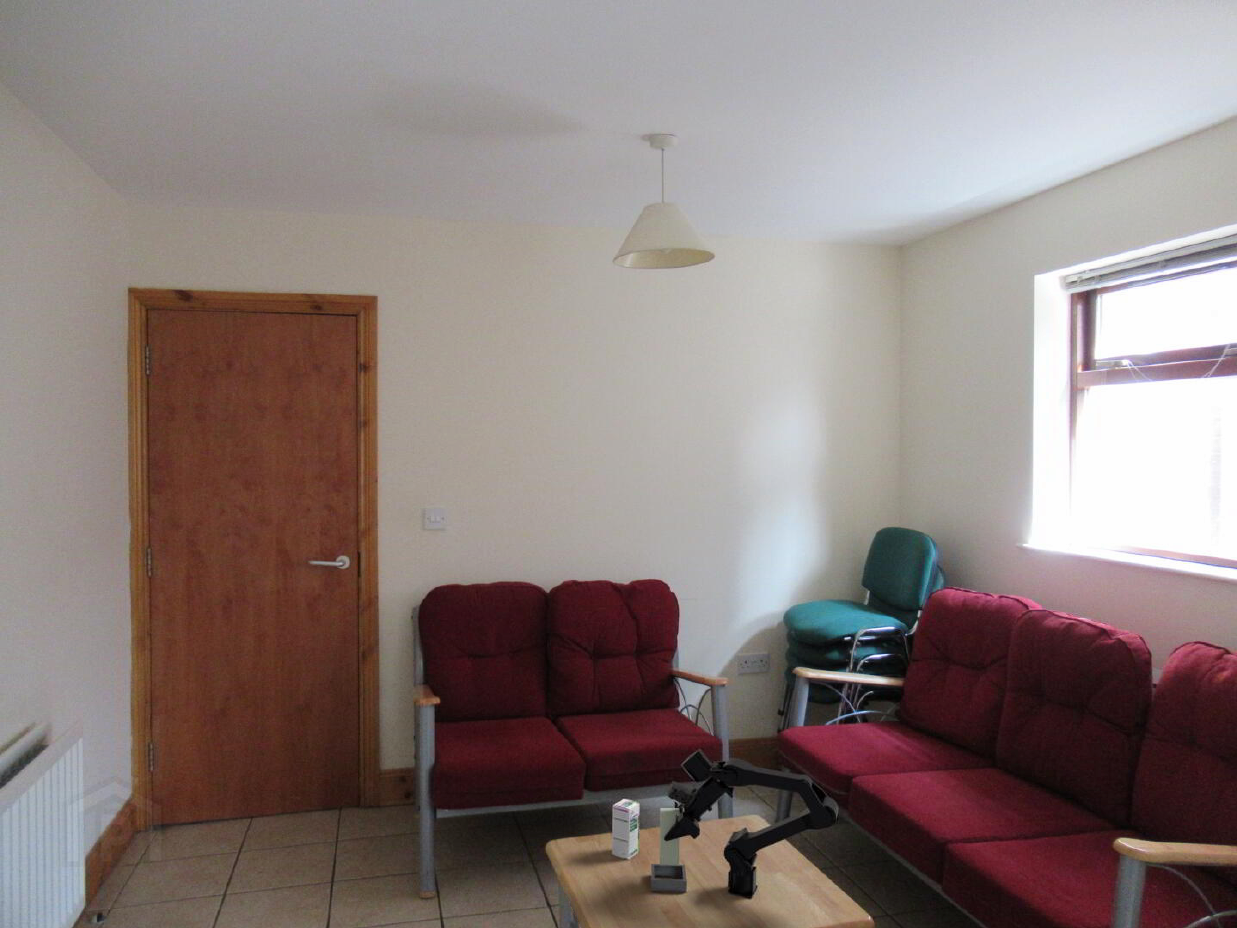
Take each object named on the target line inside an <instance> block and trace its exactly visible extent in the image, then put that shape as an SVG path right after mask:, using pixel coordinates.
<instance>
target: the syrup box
mask: <svg viewBox="0 0 1237 928" xmlns="http://www.w3.org/2000/svg"><path fill="white" fill-rule="evenodd" d="M611 826H612V833H611V834H612V839H611V842H612V843H611V849H612V850H611V855H613V856H615V857H618V856H619V857H618V858H621V859H624V858H626V859H625V860H630V859H631V858H633V857H634V856H636V855H637V854H638V852H639V853H640V802H638V801H635V800H632V799H627V798H623V799H622V800H620V801H618V802H616V803H614V804H613V805H612V825H611Z"/></svg>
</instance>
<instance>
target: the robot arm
mask: <svg viewBox="0 0 1237 928" xmlns="http://www.w3.org/2000/svg"><path fill="white" fill-rule="evenodd" d="M680 766H681V767H682V768H683V770H684V771H685V772H686V773H687V774H688V776H689V777H691V779H692V780H693V781H694V783H695V782H696V783H697V784H698V783H699V782H700V783H702V782H703V781H704V780H705V779H706V778H707V779H706V780H705V781H704V782H703V783H702V784H700V786H699V787H697V786H694V787H692V788H691V789H690V788H688V787H687V786H684V785H683V784H681V783H679V782H676V781H674V780H672V782H671V784H670V786H669V787H668V789H667V797H668V798H669V799H670V800H673V805H674V806H673V808H679V812H680V815H679V816H677V815H676V822H675V824H674V825H673V826H672V828H671V829H670V830H669V831H668V833H667V834H666V835H665V837H664V840H665V841H670V840H673V839H677V838H679V839H680V838H684V837H691V838H692V839H693V840H696V839H697V838H698V837H699V836H700V835H701V828H700V827H701V826H700V822H701V821H702V816H703V815H705V814H706V813H707V812H709V813H710V812H711V811H713V806H714V805H715V804H716V803H717V802H718V801H720V799H721V798H723V797H724V795H728V797H730V798H731V799H733V797H734V794H735V793H734V791H735V788H736V787H737V788H740V787H742V788H743V787H749V786H758V787H762V788H768V789H774V790H780V791H786V792H791V793H797V794H798V795H799V797H801V798H802V800H803V802H804V803H805V805H806V808H805V809H804V810H803V811H801V812H799V813H797V814H794V815H792V816H790V817H787V818H784V819H783V820H781V821H778V822H776V823H774V824H771V825H769V826H766V827H763V828H761V829H759V830H757V831H748V828H747V826H745V827H743V828H742V829H741V830H738V831H732V833H731V836H730V837H729V839H728V841H727V842H726V844H725V846H724V849H723V856H724V859H725V861H726V862H727V863H728V866H729V871H728V872H727V873H728V876H727V887H728V889H727V893H728V894H730V895H731V894H732V895H736V896H740V897H744V898H750V899H753V897H754V895H755V893H756V892H757V890H758V887H759V886H758V885H757V866H755V863H756V860H757V858H758V854H757V853H758V852H759V851H760V850H763V849H765V848H768V847H770V846H772V845H775V844H777V843H779V842H781V841H785V840H786V839H789V838H791V837H794V836H796V835H799V834H802V833H803V832H806V831H821V830H827V829H830V828H832V827H834V825H835V824H836V821H837V817H838V814H839V805H838V803H837V802H836V800H835V799H833V798H832V797H829V796H828V795H827V793H826V792H825V791H824V790H823V788H821V787H820V786H819V785H818V784H816V782H814V780H813V779H812V778H811V777H810V776H809V775H808V774H798V773H792V772H787V771H786V772H785V771H782V770H774V769H769V768H763V767H758V766H757V765H756V766H755V765H754V764H752V763H750V762H748V761H747V760H744V759H740V758H738V757H730V758H729V759H727V760H719V761H718V760H716V761H714V762H713V763H712V761H711V760H710V759H709V758H708V757H707V756H706V754H705V753H704V751H703V750H702V749H701V748H699V749H698V750H697V751H696V750H695V752H694V753H691V754H690V755H689V756H688V757H687V758H686V759H685V760H684V761H683V762H682V764H680ZM709 776H710V777H709Z"/></svg>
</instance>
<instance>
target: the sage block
mask: <svg viewBox="0 0 1237 928" xmlns="http://www.w3.org/2000/svg"><path fill="white" fill-rule="evenodd" d="M659 809H660V812H659V813H660V815H659V816H660V817H659V818H660V820H659V833H660V834H659V864H660V865H680V838H677V839H673V840H670V841H665V840H664V837H665V835H666V834H667V833H668V831H669V830H670V829H671V828H672V826H673V825H674V824H675V822H676V815H677V816H679V815H680V812H679V808H674V807H673V808H671V807H660V808H659Z"/></svg>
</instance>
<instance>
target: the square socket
mask: <svg viewBox="0 0 1237 928" xmlns="http://www.w3.org/2000/svg"><path fill="white" fill-rule="evenodd" d="M660 876H670V877H669V878H656V877H660ZM673 878H675V879H673ZM677 878H678V879H677ZM679 878H681V879H679ZM650 882H651V883H650V884H651V885H650V886H651V887H650V888H651V890H652V891H651V892H654V891H662V892H661V893H682V892H685V894H686V893H687V890H688V889H687V887H688V886H687V873H686V865H685V864H679V865H660V863H651V864H650Z"/></svg>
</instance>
